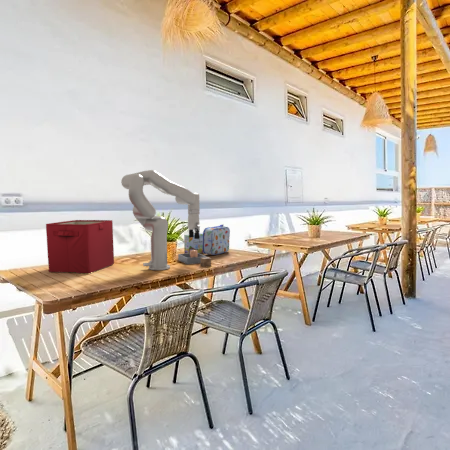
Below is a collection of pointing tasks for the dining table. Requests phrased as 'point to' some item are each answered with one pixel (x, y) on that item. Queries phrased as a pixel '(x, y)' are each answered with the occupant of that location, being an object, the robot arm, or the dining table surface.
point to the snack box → (193, 243)
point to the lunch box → (216, 240)
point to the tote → (187, 260)
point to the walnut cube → (205, 261)
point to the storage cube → (80, 245)
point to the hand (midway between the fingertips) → (194, 237)
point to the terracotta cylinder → (193, 253)
